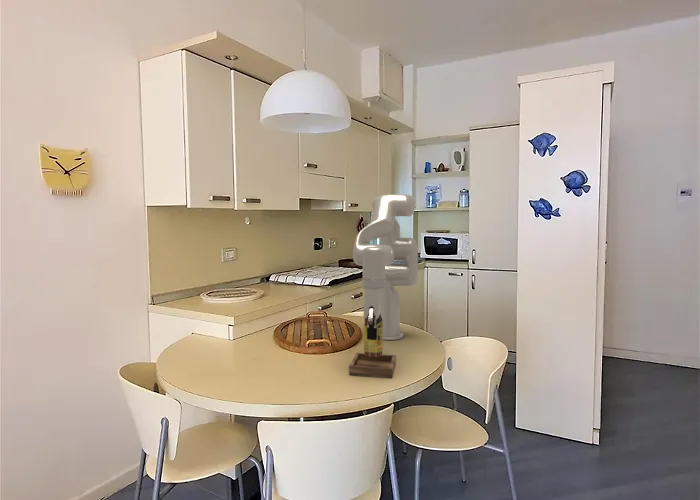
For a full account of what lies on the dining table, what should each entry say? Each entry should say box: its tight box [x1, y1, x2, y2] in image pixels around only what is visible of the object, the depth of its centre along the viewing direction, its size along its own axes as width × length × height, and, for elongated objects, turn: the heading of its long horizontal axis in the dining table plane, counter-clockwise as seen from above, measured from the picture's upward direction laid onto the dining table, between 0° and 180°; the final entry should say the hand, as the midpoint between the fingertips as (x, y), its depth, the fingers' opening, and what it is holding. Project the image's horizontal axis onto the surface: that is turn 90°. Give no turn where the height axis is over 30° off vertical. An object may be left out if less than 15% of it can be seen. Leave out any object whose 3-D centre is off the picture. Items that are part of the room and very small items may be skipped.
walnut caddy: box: [348, 352, 397, 379], centre depth 150 cm, size 14×14×3 cm
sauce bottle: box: [363, 314, 384, 358], centre depth 148 cm, size 6×6×20 cm
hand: (373, 336), depth 149 cm, fingers closed on sauce bottle, 6 cm apart
